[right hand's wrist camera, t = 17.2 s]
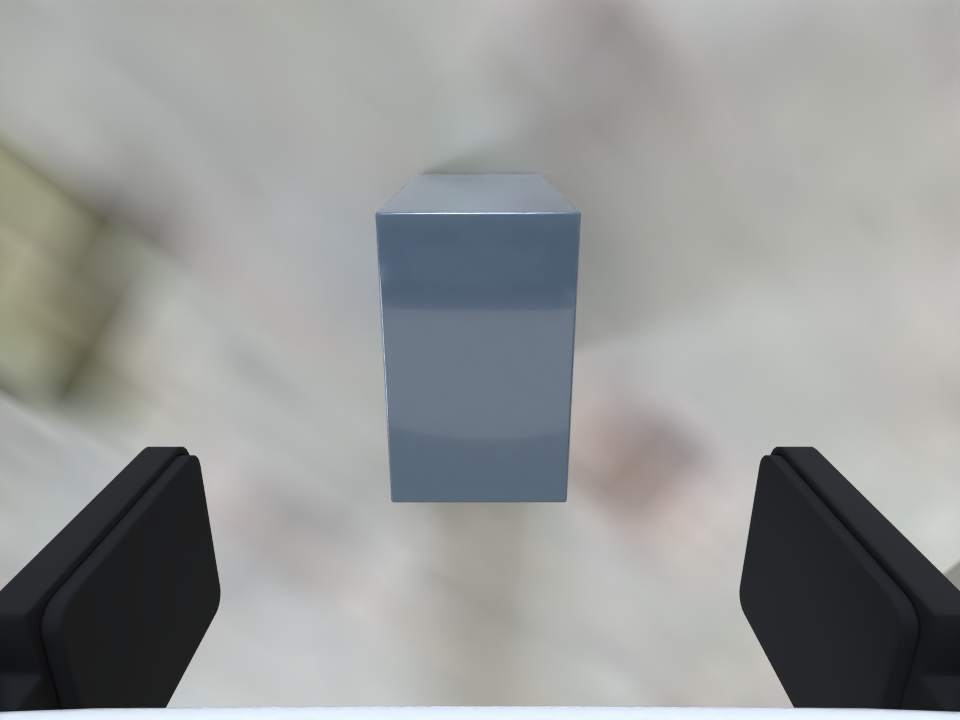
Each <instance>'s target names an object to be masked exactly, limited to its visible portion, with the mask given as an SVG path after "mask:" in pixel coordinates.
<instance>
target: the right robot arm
mask: <svg viewBox="0 0 960 720" xmlns="http://www.w3.org/2000/svg"><path fill="white" fill-rule="evenodd" d="M219 602H220V584H219V577H218V571H217V565H216V559H215V553H214V547H213V540H212V534H211V528H210V522H209V516H208V510H207V503H206V497H205V491H204V485H203V479H202V473H201V466H200V462H199V459H198V458H197V457H196V456H195V455H189V453H188V451H187V449H186V448H184V447H147V448H145V449H144V450H142V451H141V452H140V453H139V454H138V455H137V456H136V457H135V458H134V459H133V460H132V461H131V462H130V463H129V464H128V465H127V466H126V467H125V468H124V469H123V470H122V471H121V472H120V473H119V474H118V475H117V476H116V477H115V478H114V479H113V480H112V481H111V482H110V483H109V484H108V485H107V486H106V487H105V488H104V489H103V490H102V491H101V492H100V493H99V494H98V495H97V496H96V497H95V498H94V499H93V500H92V501H91V502H90V503H89V504H88V505H87V506H86V507H85V508H84V509H83V510H82V511H81V512H80V513H79V514H78V515H77V516H76V517H75V518H74V519H73V520H72V521H71V522H70V523H69V524H68V525H67V526H66V527H65V528H64V529H63V530H62V531H61V532H60V533H59V534H58V535H57V536H56V537H54V538H53V539H52V540H51V541H50V542H49V543H48V544H47V545H46V546H45V547H44V548H43V549H42V550H41V551H40V552H39V553H38V554H37V555H36V556H35V557H34V558H33V559H32V560H31V561H30V562H29V563H28V564H27V565H26V566H25V567H24V568H23V569H22V570H21V571H20V572H19V573H18V574H17V575H16V576H15V577H14V578H13V579H12V580H11V581H10V582H9V583H8V584H7V585H6V586H5V587H4V588H3V589H2V590H1V591H0V720H960V591H959V590H958V589H957V588H956V587H955V586H954V585H953V584H952V583H951V582H950V581H949V580H948V579H947V578H946V577H945V576H944V575H943V574H942V573H941V572H940V571H939V570H938V569H937V568H936V567H935V566H934V565H933V564H932V563H931V562H930V561H929V560H928V559H927V558H926V557H925V556H924V555H923V554H922V553H921V552H920V551H919V550H918V549H917V548H916V547H915V546H914V545H913V544H912V543H911V542H910V541H909V540H908V539H907V538H906V537H904V536H903V535H902V534H901V533H900V532H899V531H898V530H897V529H896V528H895V527H894V526H893V525H892V524H891V523H890V522H889V521H888V520H887V519H886V518H885V517H884V516H883V515H882V514H881V513H880V512H879V511H878V510H877V509H876V508H875V507H874V506H873V505H872V504H871V503H870V502H869V501H868V500H867V499H866V498H865V497H864V496H863V495H862V494H861V493H860V492H859V491H858V490H857V489H856V488H855V487H854V486H853V485H852V484H851V483H850V482H849V481H848V480H847V479H846V478H845V477H844V476H843V475H842V474H841V473H840V472H839V471H838V470H837V469H836V468H835V467H834V466H833V465H832V464H831V463H830V462H829V461H828V460H827V459H826V458H825V457H824V456H823V455H822V454H821V453H820V452H819V451H818V450H816V449H815V448H813V447H776V448H774V449H773V451H772V453H771V455H765V456H764V457H763V458H762V459H761V462H760V466H759V473H758V479H757V485H756V491H755V497H754V503H753V510H752V516H751V522H750V528H749V534H748V540H747V547H746V553H745V559H744V565H743V571H742V577H741V584H740V602H741V606H742V610H743V612H744V614H745V616H746V618H747V620H748V622H749V624H750V625H751V627H752V629H753V631H754V633H755V635H756V637H757V639H758V641H759V642H760V644H761V646H762V648H763V650H764V652H765V654H766V656H767V657H768V659H769V661H770V663H771V665H772V667H773V669H774V671H775V672H776V674H777V676H778V678H779V680H780V682H781V684H782V686H783V688H784V689H785V691H786V693H787V695H788V697H789V699H790V701H791V703H792V704H793V706H794V708H744V707H579V706H391V707H225V708H166V706H167V704H168V703H169V701H170V699H171V697H172V695H173V693H174V691H175V689H176V688H177V686H178V684H179V682H180V680H181V678H182V676H183V674H184V672H185V671H186V669H187V667H188V665H189V663H190V661H191V659H192V657H193V656H194V654H195V652H196V650H197V648H198V646H199V644H200V642H201V641H202V639H203V637H204V635H205V633H206V631H207V629H208V627H209V625H210V624H211V622H212V620H213V618H214V616H215V614H216V612H217V610H218V606H219Z"/></svg>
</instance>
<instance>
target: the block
mask: <svg viewBox="0 0 960 720" xmlns="http://www.w3.org/2000/svg"><path fill="white" fill-rule="evenodd" d="M580 220H581V214H580V212H579V211H578V210H577V209H576V208H575V207H574V206H573V205H572V204H571V203H570V202H569V201H568V200H567V199H566V198H565V197H564V196H563V195H562V194H561V193H560V192H559V191H558V190H557V189H556V188H555V187H554V186H553V185H552V184H551V183H550V182H549V181H548V180H547V179H546V178H545V177H544V176H543V175H542V174H417V175H416V176H415V177H414V178H413V179H412V180H411V181H410V182H409V183H408V184H407V185H406V186H405V187H403V188H402V189H401V190H400V191H399V192H398V193H397V194H396V195H395V196H394V197H393V198H392V199H391V200H389V201H388V202H387V203H386V204H385V205H384V206H383V207H382V208H381V209H380V210H379V211H378V212H377V213H376V233H377V251H378V269H379V287H380V305H381V323H382V341H383V359H384V377H385V395H386V413H387V431H388V449H389V467H390V485H391V500H392V502H566V500H567V484H568V464H569V444H570V423H571V403H572V383H573V362H574V342H575V322H576V302H577V281H578V261H579V241H580Z"/></svg>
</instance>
